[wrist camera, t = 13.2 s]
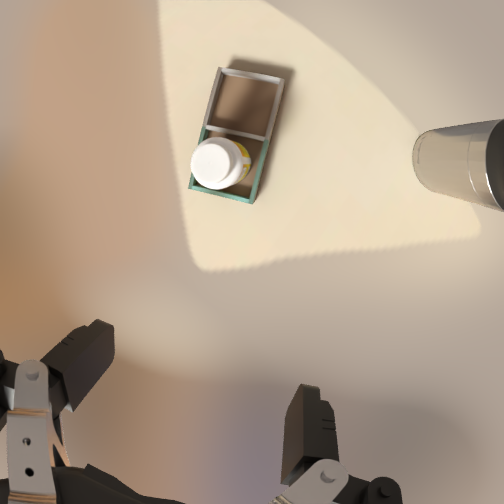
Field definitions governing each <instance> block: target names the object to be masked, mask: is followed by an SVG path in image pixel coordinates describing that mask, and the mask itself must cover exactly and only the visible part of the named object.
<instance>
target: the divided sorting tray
mask: <svg viewBox="0 0 504 504" xmlns="http://www.w3.org/2000/svg"><path fill="white" fill-rule="evenodd" d="M284 86H285V79H282V78H278V77H273V76H268V75H263V74H258V73H253V72H247V71H241V70H235V69H228V68H221V67H218V70H217V74H216V77H215V81H214V84H213V88H212V91H211V95H210V99H209V102H208V106H207V110H206V114H205V118H204V122H203V126H202V130H201V134H200V138H199V142H198V145H199V144H200V143H201V142H203V141H204V140H206V139H209V138H212V137H222V138H226V139H229V140H232V141H234V142H237V143H239V144H241V145H243V146H244V147H245V148H246V149H247V151H248V152H249V154H250V157H251V168H250V171H249V173H248V175H247V176H246V177H245V178H244V179H243V180H241V181H240V182H238V183H236V184H233V185H231V186H229V187H226V188H223V189H210V188H207V187H205V186H203V185H201V184H200V183H199V182H198V181H197V180H196V179H195V177H194V175H193V173H191V178H190V182H189V187H188V189H192V190H196V191H201V192H205V193H209V194H213V195H217V196H221V197H225V198H229V199H233V200H237V201H241V202H245V203H249V204H253V203H254V202H255V199H256V195H257V191H258V187H259V183H260V179H261V175H262V171H263V167H264V163H265V159H266V155H267V151H268V148H269V144H270V140H271V136H272V132H273V128H274V124H275V120H276V117H277V113H278V109H279V105H280V101H281V97H282V94H283V90H284Z"/></svg>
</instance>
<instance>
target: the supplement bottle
mask: <svg viewBox="0 0 504 504" xmlns="http://www.w3.org/2000/svg"><path fill="white" fill-rule="evenodd" d="M250 168H251V157H250V154H249V152H248V151H247V149H246V148H245V147H244V146H243V145H241V144H239V143H237V142H234V141H232V140H229V139H226V138H222V137H212V138H209V139H206V140H204V141H203V142H201V143H200V144H199V145H198V146H197V147H196V149H195V150H194V152H193V154H192V157H191V170H192V173H193V175H194V177H195V179H196V180H197V181H198V182H199V183H200V184H201V185H203V186H205V187H207V188H210V189H223V188H226V187H229V186H231V185H233V184H236V183H238V182H240V181H241V180H243V179H244V178H245V177H246V176H247V175H248V173H249V171H250Z"/></svg>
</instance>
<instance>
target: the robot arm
mask: <svg viewBox="0 0 504 504" xmlns="http://www.w3.org/2000/svg"><path fill="white" fill-rule="evenodd" d="M413 166H414V170H415V173H416V175H417V177H418V179H419V180H420V182H421V183H422V184H423V185H424V186H425V187H426V188H428V189H429V190H431V191H433V192H436V193H440V194H444V195H447V196H451V197H454V198H458V199H462V200H465V201H469V202H472V203H476V204H479V205H482V206H486V207H488V208H492V209H495V210H498V211H501V212H504V119H501V120H492V121H485V122H477V123H471V124H464V125H458V126H451V127H445V128H439V129H434V130H430V131H427V132H425V133H423V134H422V135H421V136H420V137H419V138H418V140H417V142H416V143H415V146H414V149H413ZM114 348H115V347H114V327H113V325H111V324H108V323H106V322H104V321H101V320H99V319H96V320H95V321H94V322H92V324H90V325H89V326H88V327H87V326H85V325H84V326H81V327H79V328H76V329H74V330H73V331H72V332H71V333H69V334H68V335H67V337H65V338H64V339H63V340H62V341H61V343H60V342H59V343H58V344H57V345H56V346H55V347H54V348H53V349H52V350H51V351H49V352H48V353H47V354H46V355H45V356H44V357H43V358H42V359H41V360H40V361H37V360H26V361H24V362H22V363H21V364H17V363H14V362H11V361H8V360H5V359H4V356H3V353H2V351H1V350H0V431H1V430H2V428H3V427H4V426H5V425H6V423H7V463H8V475H9V478H6V479H0V504H185V503H181V502H178V501H175V500H168V499H160V498H153V497H147V496H142V495H139V494H138V493H136V492H135V491H133V490H132V489H131V488H129V487H127V486H126V485H125V484H123V483H122V482H121V481H119V480H118V479H117V478H115V477H114V476H112V475H109V474H107V473H105V472H103V471H101V470H99V469H97V468H96V467H94V466H92V465H90V464H87V466H86V467H85V469H83V468H78V467H71V466H70V463H69V460H68V457H67V453H66V448H65V442H64V435H63V427H62V418H61V413H60V412H61V411H62V410H63V408H66V409H68V410H69V411H71V412H74V410H75V409H76V408H77V406H78V405H79V404H80V403H81V401H82V400H83V399H84V397H85V396H86V395H87V393H88V392H89V391H90V390H91V389H92V387H93V386H94V385H95V384H96V382H97V381H98V380H99V379H100V377H101V376H102V375H103V374H104V372H105V371H106V370H107V369H108V367H109V366H110V365H111V363H112V361H113V359H114V353H115V349H114ZM334 422H335V417H334V411H333V409H332V408H331V406H330V404H329V402H328V401H324V400H320V389H319V388H318V387H315V386H310V385H305V384H300V386H299V387H298V389H297V391H296V393H295V395H294V397H293V399H292V401H291V403H290V405H289V407H288V410H287V412H286V417H285V426H284V442H283V458H282V471H281V484H284V485H289V488H288V489H287V490H286V491H284V492H283V493H282V494H281V495H280V496H278V497H276V498H275V499H274V500H272V501H271V502H269V503H268V504H403V503H402V495H401V490H400V487H399V485H398V484H397V483H396V482H395V481H394V480H393V479H391V478H388V477H378V478H375V479H374V480H372V481H371V482H369V481H365V480H362V479H359V478H356V477H353V476H351V475H349V474H348V472H347V470H346V468H345V467H344V466H343V465H342V464H341V463H340V462H339V455H338V445H337V435H336V431H335V430H336V426H335V423H334Z"/></svg>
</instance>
